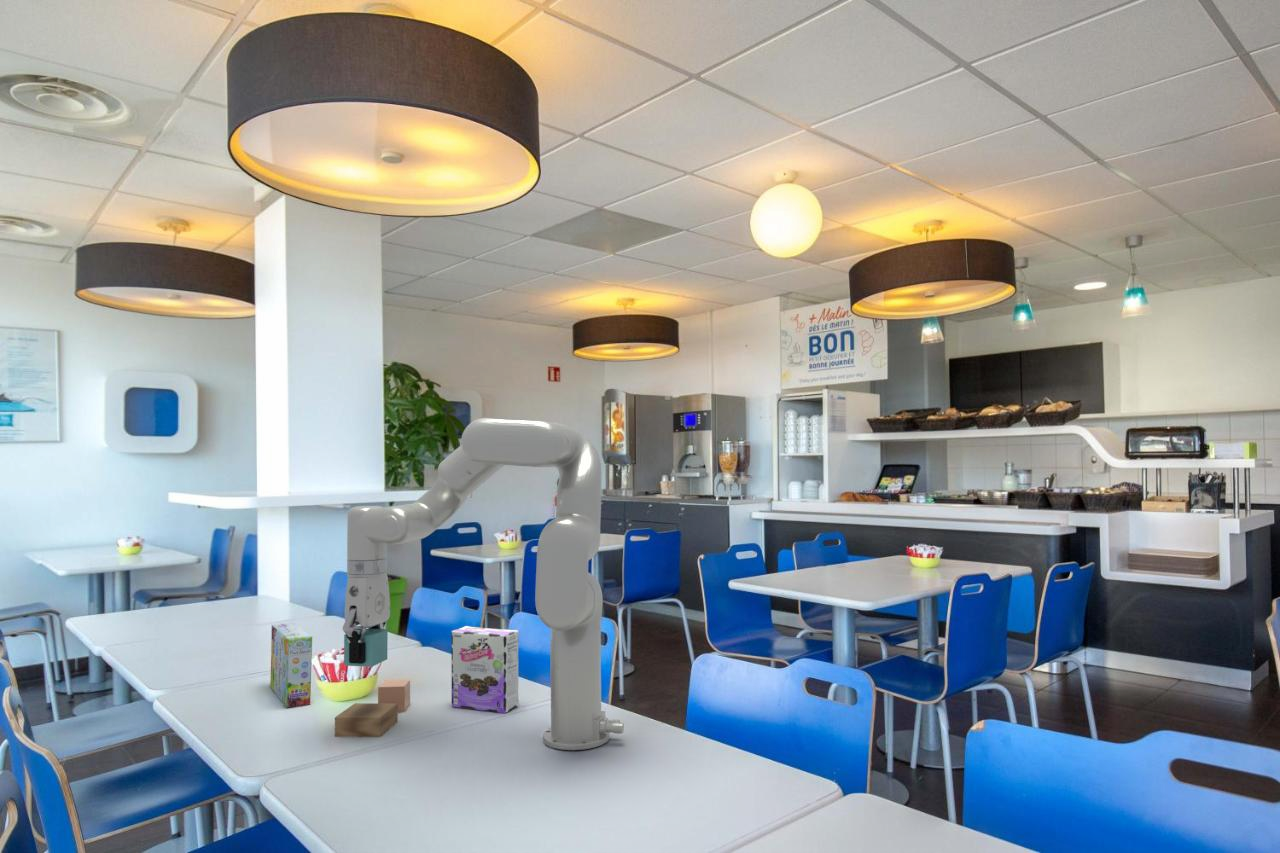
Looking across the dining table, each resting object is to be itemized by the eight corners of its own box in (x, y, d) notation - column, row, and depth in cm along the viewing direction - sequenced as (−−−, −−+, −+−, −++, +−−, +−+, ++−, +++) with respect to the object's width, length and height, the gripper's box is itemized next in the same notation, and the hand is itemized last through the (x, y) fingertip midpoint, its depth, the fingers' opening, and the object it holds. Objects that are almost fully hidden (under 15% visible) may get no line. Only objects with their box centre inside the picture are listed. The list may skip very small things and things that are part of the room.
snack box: (313, 704, 174) (313, 635, 175) (285, 709, 171) (286, 639, 172) (293, 683, 192) (294, 620, 193) (268, 687, 189) (269, 623, 189)
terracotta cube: (410, 704, 173) (410, 679, 173) (404, 712, 168) (404, 686, 168) (384, 705, 173) (384, 680, 173) (378, 713, 167) (378, 687, 168)
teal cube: (387, 659, 160) (387, 629, 161) (372, 666, 154) (372, 635, 155) (360, 658, 162) (360, 628, 162) (343, 665, 156) (344, 634, 156)
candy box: (450, 707, 171) (449, 630, 171) (465, 699, 176) (465, 625, 177) (505, 714, 165) (504, 634, 166) (519, 706, 171) (519, 629, 172)
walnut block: (397, 723, 162) (397, 703, 162) (380, 738, 153) (380, 717, 153) (354, 723, 162) (354, 703, 162) (334, 738, 153) (334, 717, 153)
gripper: (361, 574, 150) (360, 670, 149) (404, 562, 167) (404, 649, 166) (325, 573, 151) (324, 669, 150) (372, 562, 168) (371, 648, 167)
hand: (366, 657), depth 158 cm, fingers closed on teal cube, 6 cm apart
